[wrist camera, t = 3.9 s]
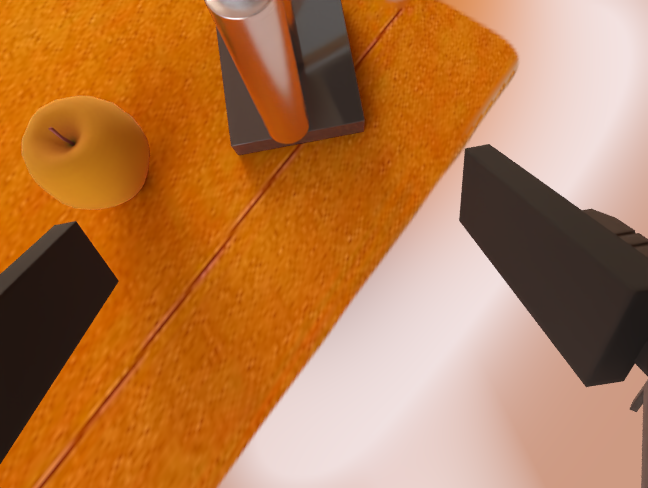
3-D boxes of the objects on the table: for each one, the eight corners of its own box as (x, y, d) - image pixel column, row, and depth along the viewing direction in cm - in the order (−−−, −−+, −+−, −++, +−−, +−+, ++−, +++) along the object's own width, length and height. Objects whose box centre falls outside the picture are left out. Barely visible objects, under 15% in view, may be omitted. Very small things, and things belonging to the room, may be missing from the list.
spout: (265, 48, 31) (153, -286, 13) (300, 41, 30) (233, -306, 13) (286, 183, 28) (185, -1, 11) (323, 176, 28) (282, -21, 11)
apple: (182, 211, 31) (116, 178, 22) (90, 232, 31) (-10, 207, 23) (169, 123, 33) (103, 59, 24) (82, 144, 33) (-15, 88, 24)
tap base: (221, 27, 34) (213, 10, 32) (338, 2, 33) (337, -16, 31) (238, 155, 32) (230, 146, 30) (364, 131, 31) (365, 120, 29)
